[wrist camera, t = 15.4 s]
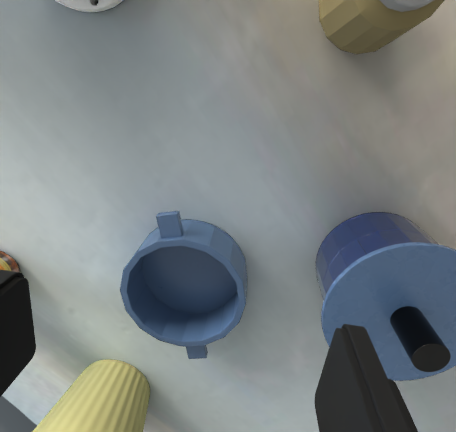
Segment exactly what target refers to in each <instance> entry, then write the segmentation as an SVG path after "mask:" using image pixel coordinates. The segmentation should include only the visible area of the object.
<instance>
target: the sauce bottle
mask: <svg viewBox="0 0 456 432" xmlns="http://www.w3.org/2000/svg"><path fill="white" fill-rule="evenodd" d="M0 270H8V271H14V272H20V271H19V267H18V264H17V263H16V261H15V260H14V259H13V258H11V257H10V256H9V255H7V254H5V253H4V252H2V251H0Z"/></svg>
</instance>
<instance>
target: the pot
mask: <svg viewBox="0 0 456 432" xmlns="http://www.w3.org/2000/svg"><path fill="white" fill-rule="evenodd" d="M413 242H423V243H433V244H438V243H437V242H436V241H435V240H434V239H433V238H431V237H430V236H429V235H428V234H427V233H426V232H425V231H424V230H422V229H421V228H420V227H419V226H418V225H416V224H415V223H413V222H412V221H410V220H408V219H406V218H404V217H402V216H399V215H396V214H392V213H385V212H372V213H366V214H362V215H358V216H355V217H353V218H350V219H348V220H346V221H344V222H343V223H341V224H340V225H338V226H337V227H336V228H334V229H333V230H332V231H331V232H330V233H329V234H328V235H327V237H326V238H325V239H324V241H323V242H322V244H321V246H320V248H319V251H318V254H317V258H316V275H317V280H318V283H319V287H320V290H321V293H322V297H323V300H324V299H325V297H326V294H327V292H328V290H329V288H330V287H331V285H332V284H333V282H334V281H335V279H336V278H337V277H338V276H339V275H340V274H341V273H342V272H343V271H344V270H345V269H346V268H347V267H348V266H349V265H351V264H352V263H353V262H355V261H356V260H358V259H359V258H361V257H363V256H365V255H367V254H369V253H371V252H373V251H375V250H378V249H381V248H384V247H387V246H391V245H395V244H402V243H413ZM438 245H439V244H438Z"/></svg>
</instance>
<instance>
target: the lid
mask: <svg viewBox="0 0 456 432" xmlns="http://www.w3.org/2000/svg"><path fill="white" fill-rule="evenodd" d="M321 322H322V329H323V332H324V336H325V339H326V341H327V343H328V345H329V347H330V345H331V341H332V338H333V335H334V332H335V329H336V328H341V327H342V326H343V324H350V325H356V326H362V327H365V329H366V330H367V332H368V335H369V337H370V339H371V341H372V344H373V346H374V348H375V351H376V353H377V355H378V357H379V360H380V362H381V364H382V367H383V369H384V371H385V373H386V376H387V378H388V379H391V380H399V381H403V380H414V379H420V378H425V377H429V376H432V375H435V374H438V373H441V372H444V371H446V370H448V369H450V368H452V367H454V366H455V365H456V250H455V249H452V248H449V247H446V246H443V245H438V244H433V243H423V242H413V243H402V244H395V245H391V246H387V247H384V248H381V249H378V250H375V251H373V252H371V253H369V254H367V255H365V256H363V257H361V258H359V259H358V260H356V261H355V262H353V263H352V264H351V265H349V266H348V267H347V268H346V269H345V270H344V271H343V272H342V273H341V274H340V275H339V276H338V277H337V278H336V279H335V281H334V282H333V284H332V285H331V287H330V288H329V290H328V292H327V294H326V297H325V299H324V302H323V307H322V313H321Z"/></svg>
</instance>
